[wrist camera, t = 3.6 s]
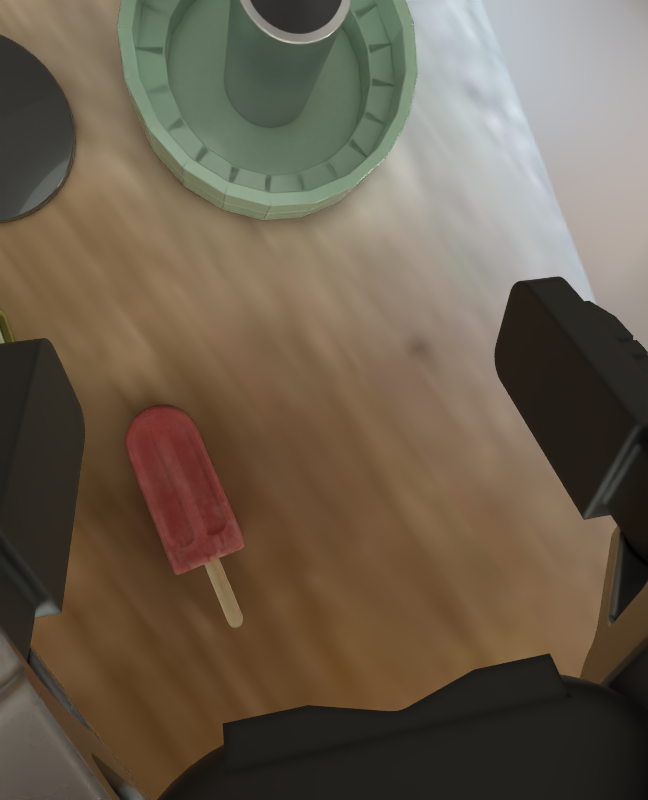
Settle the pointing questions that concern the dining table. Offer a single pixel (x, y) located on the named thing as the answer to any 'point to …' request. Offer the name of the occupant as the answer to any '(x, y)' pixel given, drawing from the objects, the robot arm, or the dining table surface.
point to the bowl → (256, 145)
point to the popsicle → (184, 497)
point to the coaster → (31, 133)
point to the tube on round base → (278, 55)
